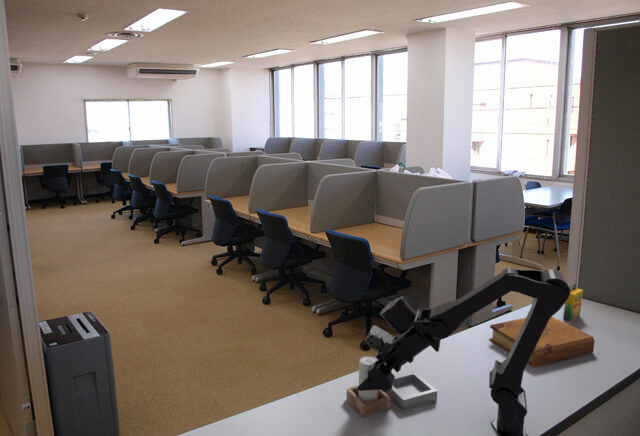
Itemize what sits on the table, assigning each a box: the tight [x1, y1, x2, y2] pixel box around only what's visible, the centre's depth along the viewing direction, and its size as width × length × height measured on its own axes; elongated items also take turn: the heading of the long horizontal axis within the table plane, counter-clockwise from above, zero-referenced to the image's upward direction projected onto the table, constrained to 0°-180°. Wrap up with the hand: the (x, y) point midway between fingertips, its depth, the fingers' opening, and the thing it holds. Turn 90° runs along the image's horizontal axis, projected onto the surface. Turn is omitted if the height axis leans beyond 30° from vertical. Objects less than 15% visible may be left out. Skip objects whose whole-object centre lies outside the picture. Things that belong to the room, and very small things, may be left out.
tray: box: [386, 371, 438, 412], centre depth 128 cm, size 10×10×3 cm
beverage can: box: [358, 355, 378, 403], centre depth 124 cm, size 5×5×12 cm
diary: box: [488, 316, 596, 369], centre depth 154 cm, size 23×19×6 cm
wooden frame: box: [346, 384, 392, 417], centre depth 125 cm, size 8×8×3 cm
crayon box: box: [562, 282, 584, 322], centre depth 173 cm, size 7×3×12 cm, turn 131°
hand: (363, 379), depth 124 cm, fingers open, 9 cm apart
